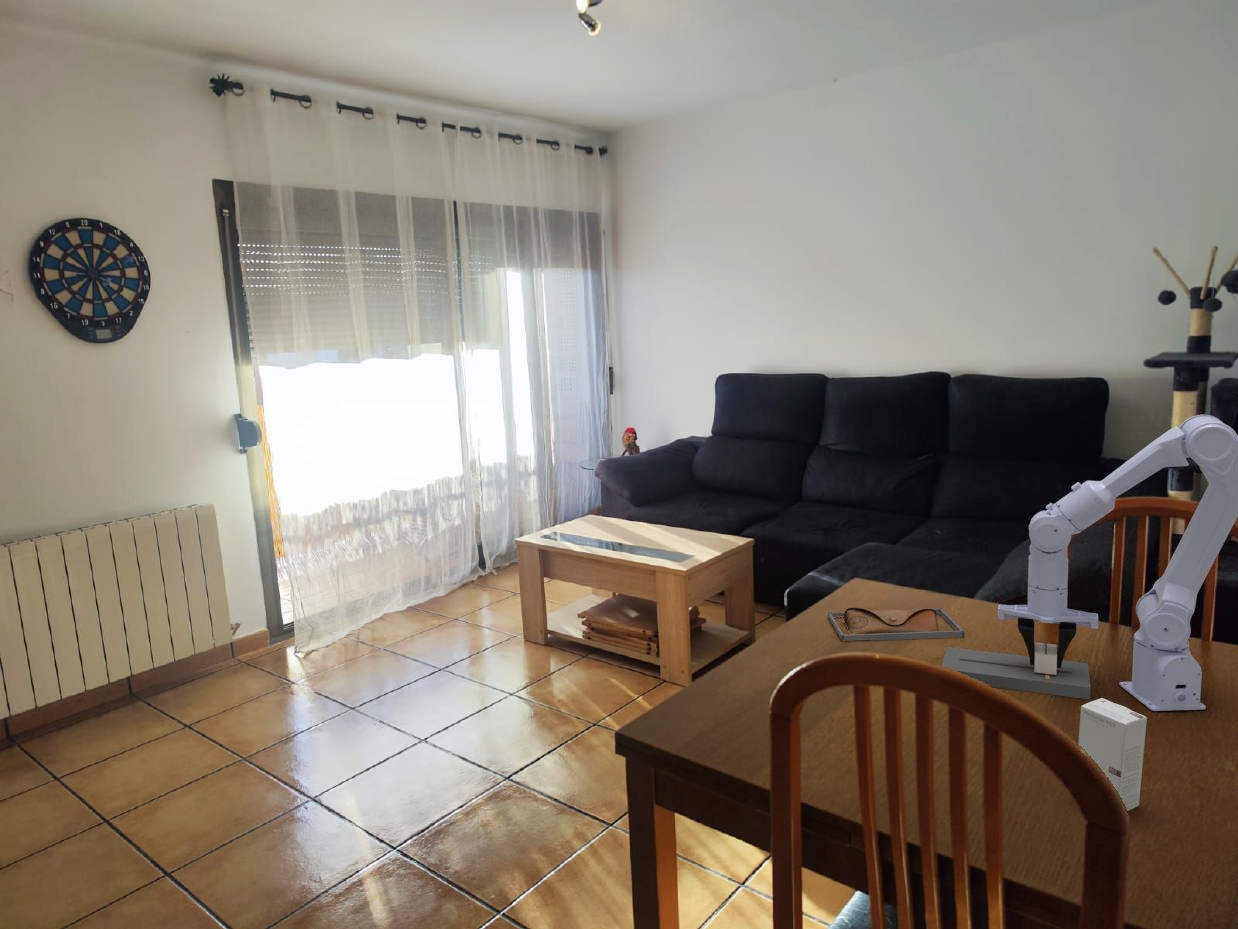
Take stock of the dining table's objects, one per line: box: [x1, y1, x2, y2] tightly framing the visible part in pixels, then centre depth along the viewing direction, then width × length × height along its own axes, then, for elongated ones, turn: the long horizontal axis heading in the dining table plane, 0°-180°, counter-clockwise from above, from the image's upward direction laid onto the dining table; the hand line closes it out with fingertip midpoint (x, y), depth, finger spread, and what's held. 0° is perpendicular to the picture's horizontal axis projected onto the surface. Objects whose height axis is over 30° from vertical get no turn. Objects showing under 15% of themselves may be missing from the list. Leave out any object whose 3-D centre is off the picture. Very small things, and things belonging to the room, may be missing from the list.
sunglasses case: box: [843, 607, 940, 634], centre depth 164 cm, size 18×7×7 cm, turn 80°
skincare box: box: [1077, 697, 1148, 812], centre depth 104 cm, size 6×4×12 cm
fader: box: [1034, 641, 1058, 675], centre depth 138 cm, size 3×5×3 cm, turn 153°
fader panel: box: [941, 646, 1092, 701], centre depth 140 cm, size 22×10×2 cm, turn 63°
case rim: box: [827, 607, 965, 641], centre depth 165 cm, size 13×23×1 cm, turn 87°
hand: (1045, 664), depth 138 cm, fingers closed on fader, 3 cm apart
